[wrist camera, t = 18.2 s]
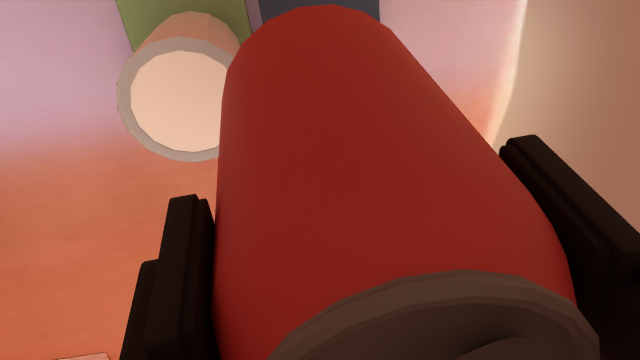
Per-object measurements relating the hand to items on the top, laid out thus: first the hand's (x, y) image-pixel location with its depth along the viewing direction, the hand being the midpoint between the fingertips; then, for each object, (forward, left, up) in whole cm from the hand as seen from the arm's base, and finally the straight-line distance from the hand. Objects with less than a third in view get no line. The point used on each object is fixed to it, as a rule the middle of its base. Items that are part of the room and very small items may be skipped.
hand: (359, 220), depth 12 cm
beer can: (0, 0, -7) cm, 7 cm away
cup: (+3, -6, -22) cm, 23 cm away
